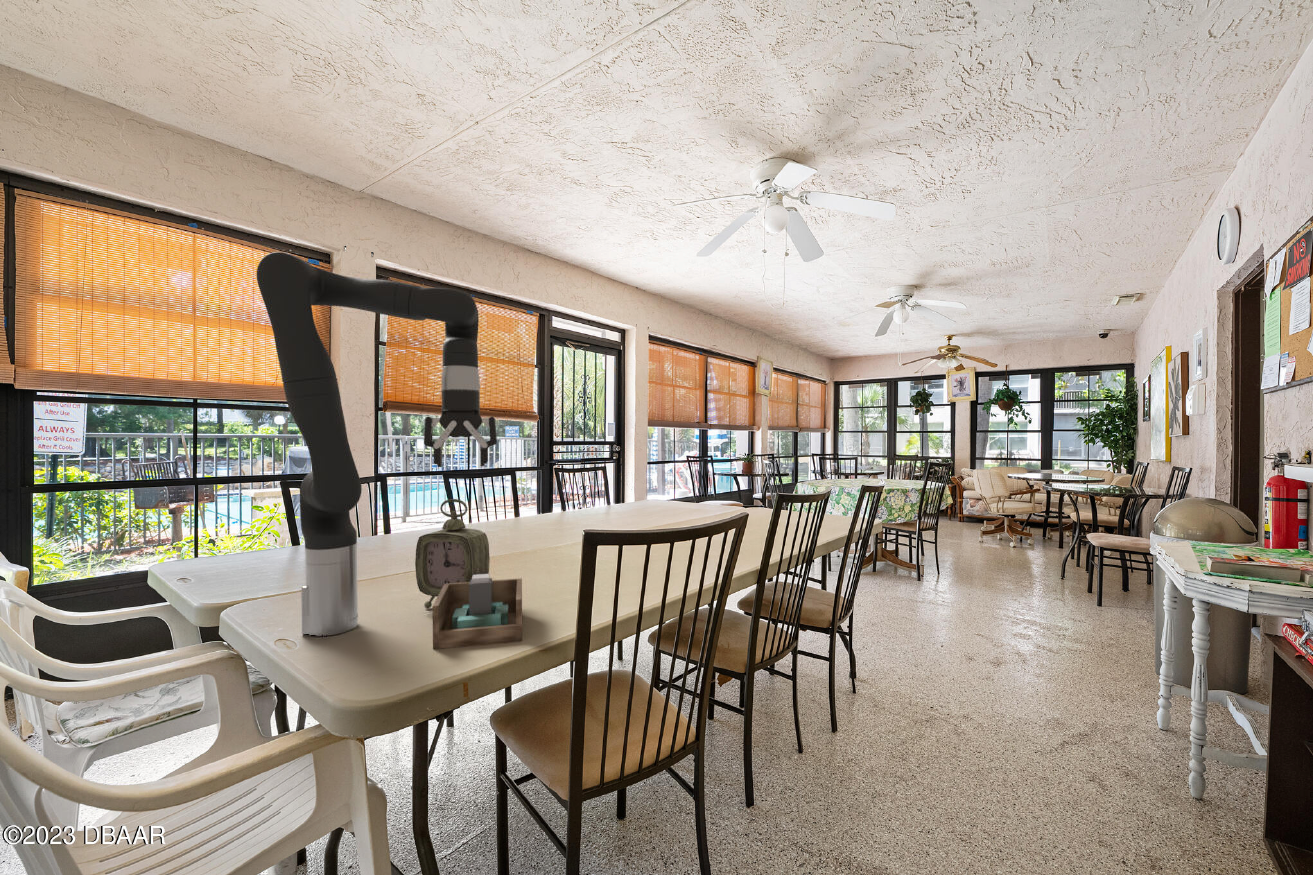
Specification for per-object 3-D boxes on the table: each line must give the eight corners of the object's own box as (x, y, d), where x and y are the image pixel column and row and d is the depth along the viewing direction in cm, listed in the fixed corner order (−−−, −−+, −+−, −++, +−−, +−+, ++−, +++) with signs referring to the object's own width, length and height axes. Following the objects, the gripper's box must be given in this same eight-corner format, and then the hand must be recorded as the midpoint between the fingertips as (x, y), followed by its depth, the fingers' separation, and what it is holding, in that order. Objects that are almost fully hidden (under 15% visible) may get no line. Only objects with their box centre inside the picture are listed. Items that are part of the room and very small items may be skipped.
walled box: (432, 649, 102) (432, 606, 102) (445, 620, 117) (444, 583, 117) (521, 640, 105) (521, 599, 105) (522, 614, 121) (521, 578, 121)
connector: (469, 629, 109) (468, 579, 109) (471, 622, 113) (470, 574, 113) (491, 627, 110) (490, 578, 110) (492, 621, 114) (492, 572, 114)
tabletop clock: (415, 610, 125) (414, 500, 124) (440, 599, 133) (439, 496, 133) (472, 615, 121) (471, 501, 121) (494, 602, 130) (493, 497, 130)
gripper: (421, 387, 110) (421, 468, 110) (495, 388, 113) (496, 466, 113) (427, 390, 117) (428, 466, 117) (497, 391, 120) (497, 465, 121)
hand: (461, 466), depth 115 cm, fingers open, 8 cm apart
